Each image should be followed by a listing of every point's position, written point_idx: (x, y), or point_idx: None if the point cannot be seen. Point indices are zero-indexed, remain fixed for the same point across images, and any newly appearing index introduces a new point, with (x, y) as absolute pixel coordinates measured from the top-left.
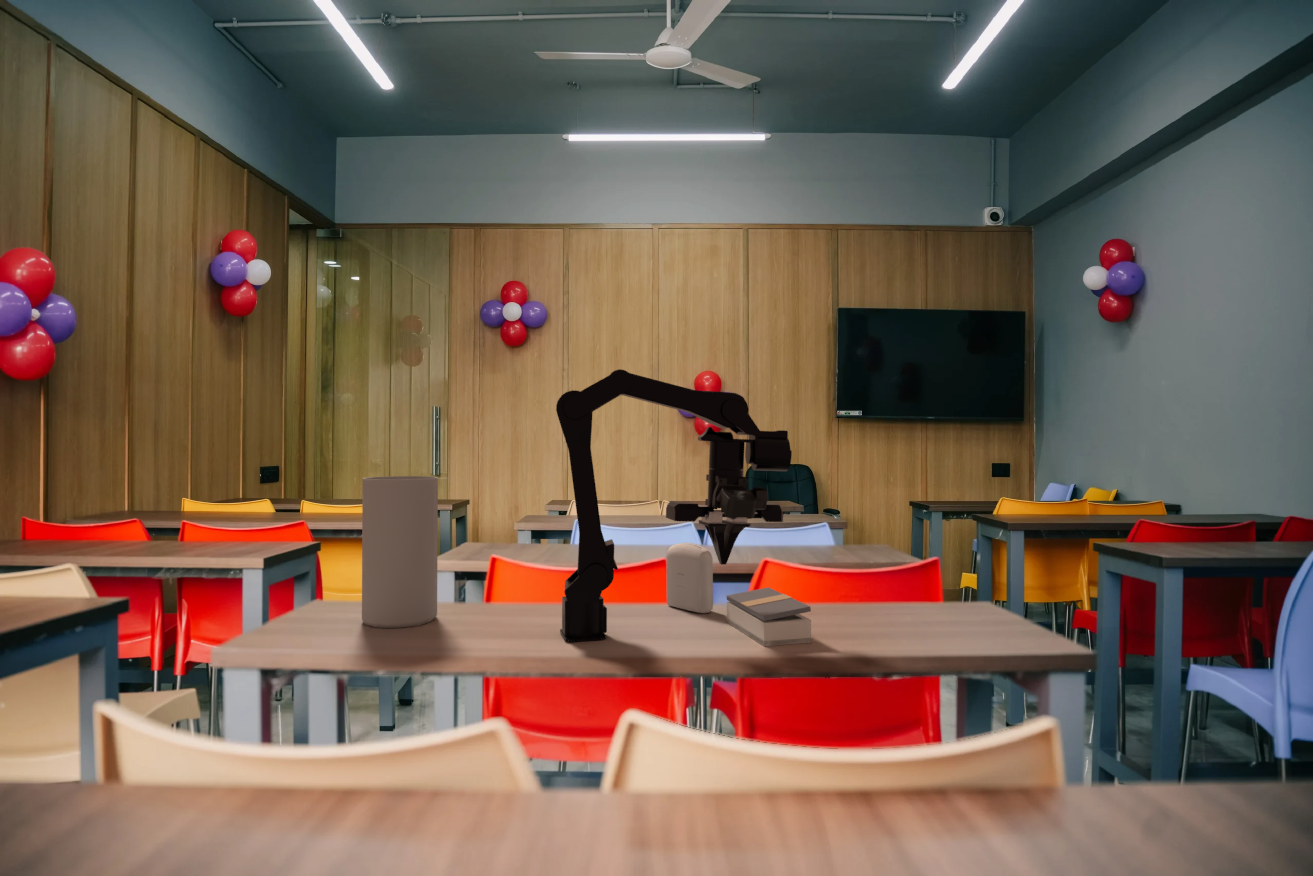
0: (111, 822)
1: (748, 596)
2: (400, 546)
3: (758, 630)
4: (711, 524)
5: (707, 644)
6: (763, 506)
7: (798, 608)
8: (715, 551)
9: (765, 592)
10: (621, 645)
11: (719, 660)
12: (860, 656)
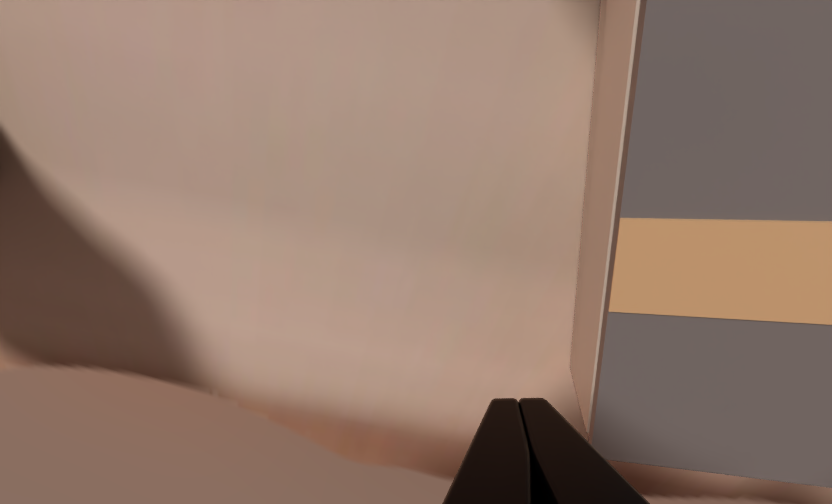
0: None
1: (766, 96)
2: None
3: (582, 358)
4: None
5: (382, 305)
6: None
7: (783, 479)
8: (453, 483)
9: None
10: (78, 256)
11: (378, 442)
12: (799, 498)
